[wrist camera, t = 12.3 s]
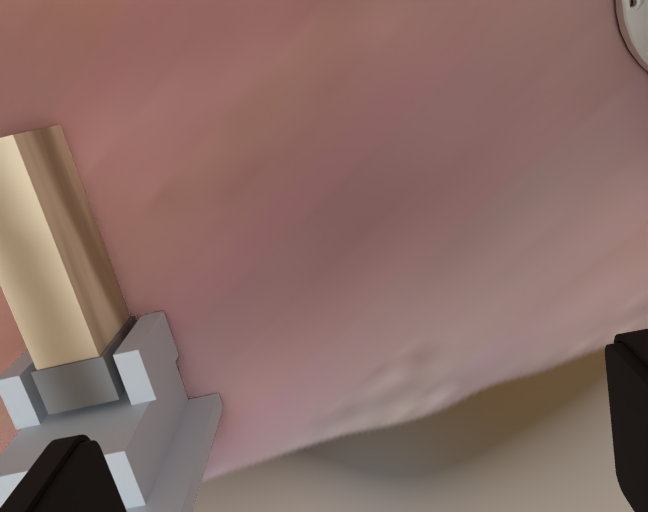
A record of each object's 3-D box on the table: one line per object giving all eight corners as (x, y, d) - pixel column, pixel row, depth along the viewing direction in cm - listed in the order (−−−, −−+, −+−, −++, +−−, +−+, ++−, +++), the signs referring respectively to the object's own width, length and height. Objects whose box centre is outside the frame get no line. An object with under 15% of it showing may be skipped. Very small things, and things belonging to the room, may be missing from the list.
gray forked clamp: (13, 344, 42) (-115, 459, 30) (189, 304, 41) (132, 407, 29) (56, 442, 45) (-47, 586, 32) (223, 406, 44) (183, 541, 31)
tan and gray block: (64, 123, 38) (16, 133, 32) (147, 353, 42) (119, 399, 37) (-4, 140, 38) (-64, 153, 32) (86, 366, 43) (48, 414, 37)
